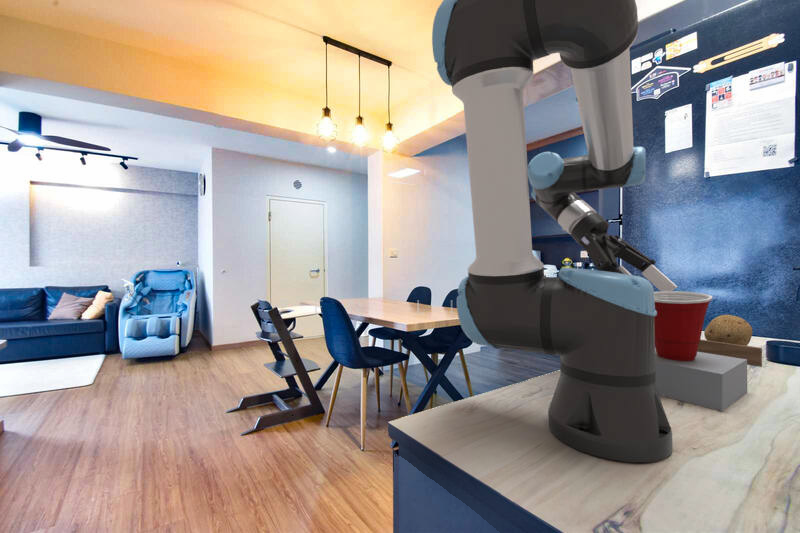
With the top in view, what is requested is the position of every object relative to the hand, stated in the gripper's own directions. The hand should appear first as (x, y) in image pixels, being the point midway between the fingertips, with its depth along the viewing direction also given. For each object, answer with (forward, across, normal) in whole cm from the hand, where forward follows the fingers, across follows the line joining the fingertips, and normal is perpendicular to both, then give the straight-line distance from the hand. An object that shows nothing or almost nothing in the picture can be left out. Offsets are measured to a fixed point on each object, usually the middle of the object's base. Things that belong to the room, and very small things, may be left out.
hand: (657, 293), depth 72 cm
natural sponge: (+14, -38, -12) cm, 42 cm away
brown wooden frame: (+14, -19, -11) cm, 26 cm away
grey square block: (+16, +1, -9) cm, 18 cm away
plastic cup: (+11, +2, -6) cm, 13 cm away
